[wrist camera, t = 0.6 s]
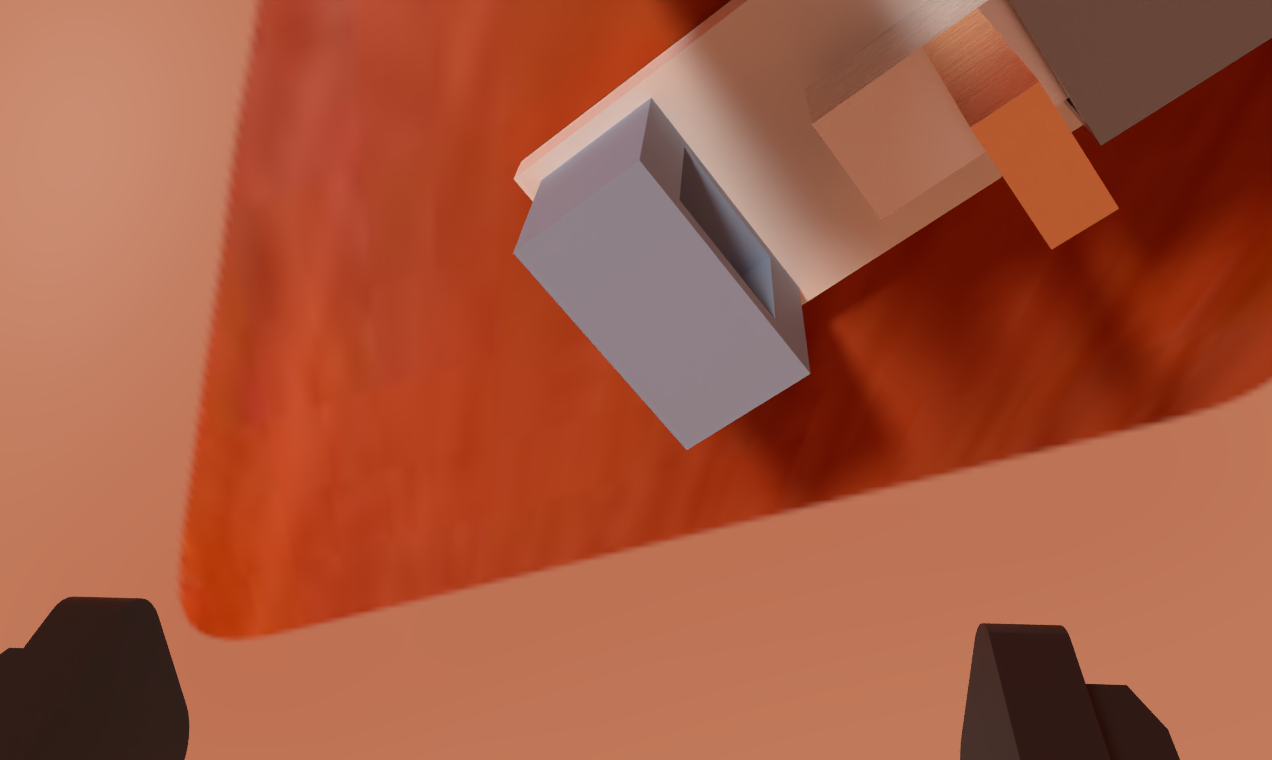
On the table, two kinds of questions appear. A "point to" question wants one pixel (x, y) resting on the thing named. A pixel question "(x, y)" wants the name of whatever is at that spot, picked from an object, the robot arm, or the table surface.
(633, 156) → the socket block
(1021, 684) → the robot arm
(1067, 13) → the grey rectangular block
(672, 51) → the base board
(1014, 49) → the inner bar
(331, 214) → the table surface
